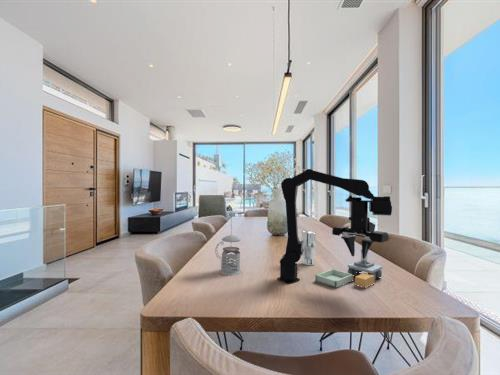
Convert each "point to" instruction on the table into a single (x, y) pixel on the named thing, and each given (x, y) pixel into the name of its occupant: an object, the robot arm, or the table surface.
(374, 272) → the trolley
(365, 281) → the orange rectangular block
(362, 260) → the pin
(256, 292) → the table surface
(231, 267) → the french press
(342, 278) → the tray
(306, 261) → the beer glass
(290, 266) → the robot arm
